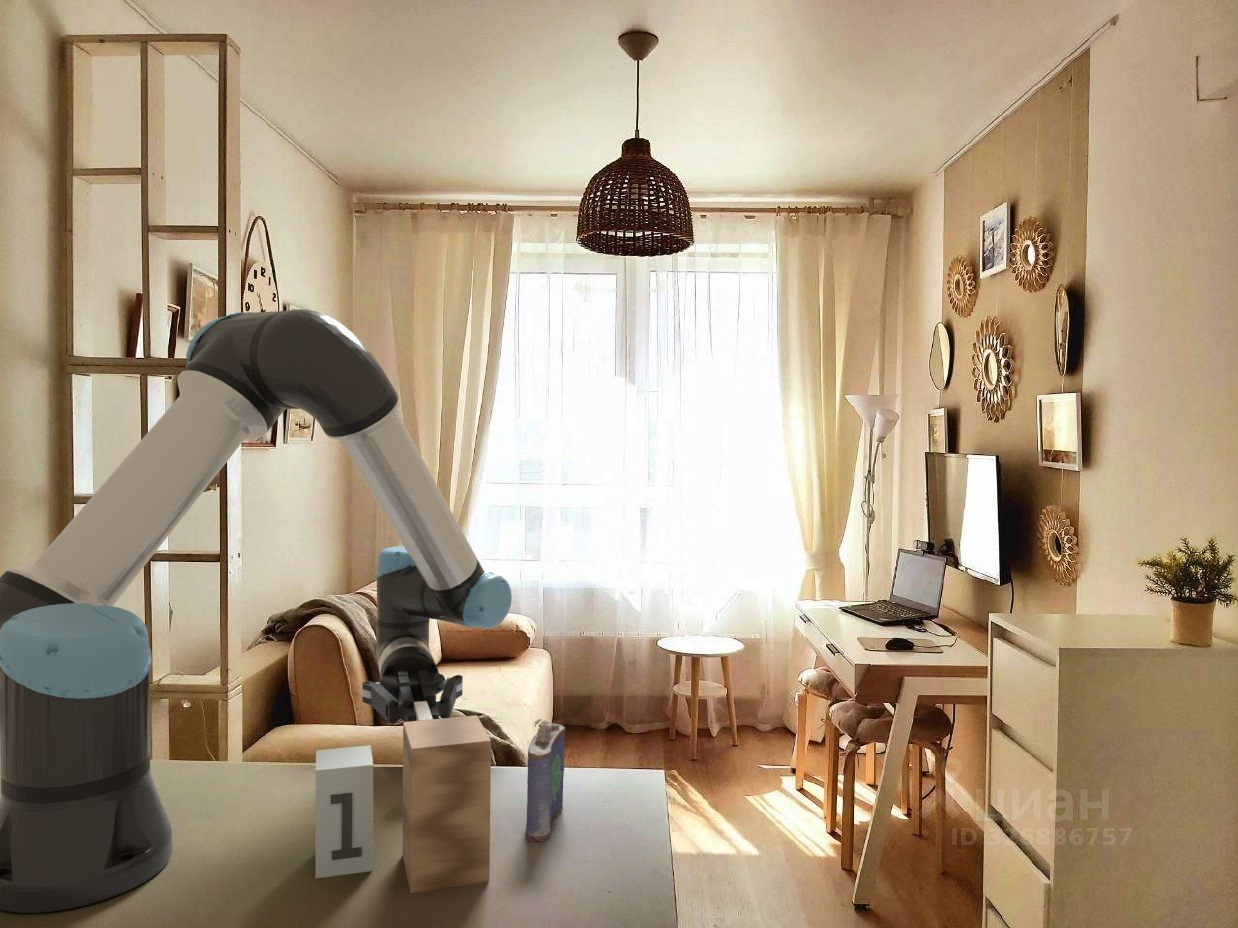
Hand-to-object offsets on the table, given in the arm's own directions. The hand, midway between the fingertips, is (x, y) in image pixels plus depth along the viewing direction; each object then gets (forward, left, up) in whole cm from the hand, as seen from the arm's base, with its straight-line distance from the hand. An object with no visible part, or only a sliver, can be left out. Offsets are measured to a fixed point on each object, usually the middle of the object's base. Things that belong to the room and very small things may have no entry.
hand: (425, 731), depth 100 cm
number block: (-9, -14, -7) cm, 18 cm away
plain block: (0, -18, -7) cm, 19 cm away
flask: (+11, -11, -7) cm, 17 cm away
